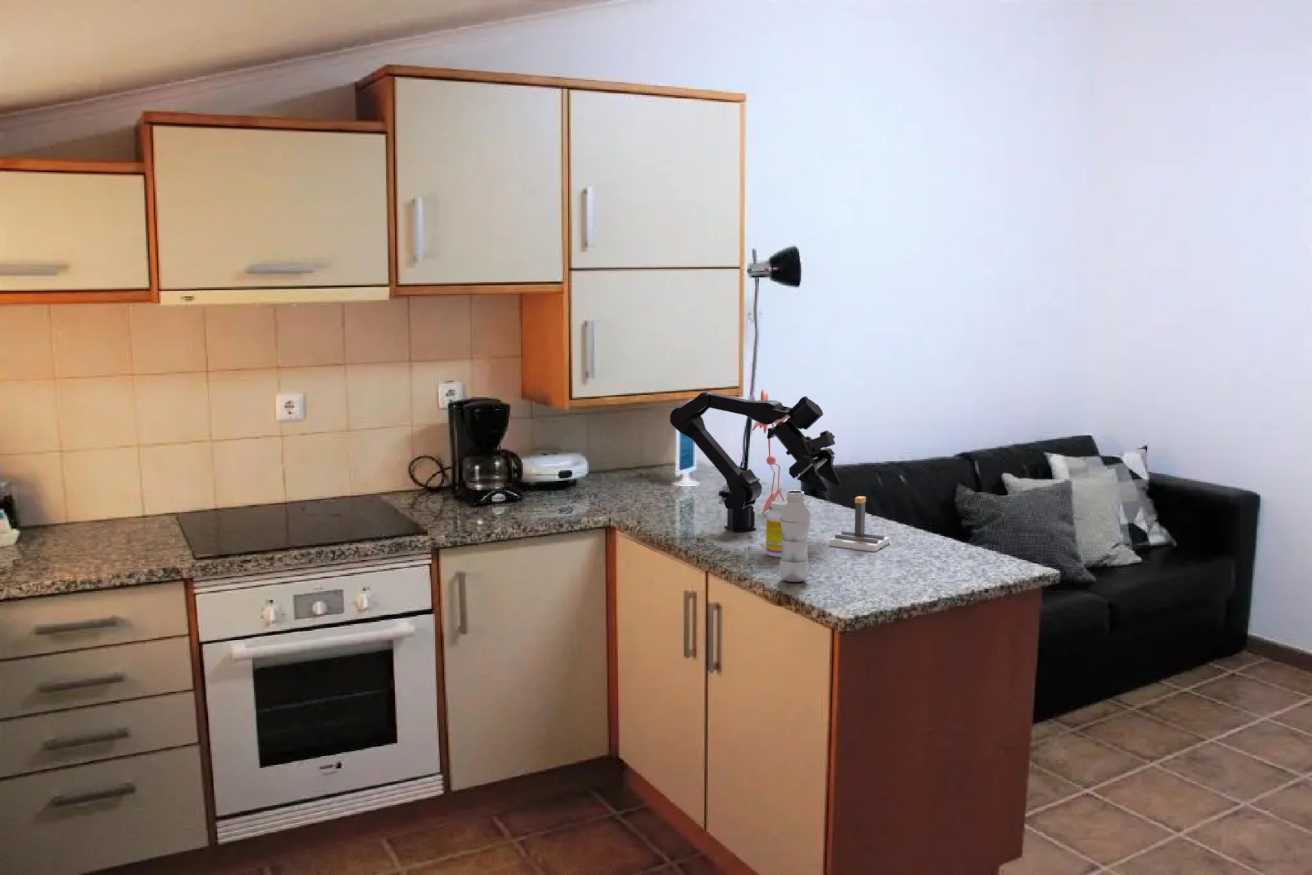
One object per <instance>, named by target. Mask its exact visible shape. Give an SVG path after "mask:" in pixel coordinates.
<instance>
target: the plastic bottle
mask: <svg viewBox="0 0 1312 875" xmlns="http://www.w3.org/2000/svg"><path fill="white" fill-rule="evenodd" d="M805 499H806V498H805V491H803V490H787V491H786V500H785V501H788V503H787V504H786V506H785V507H784V508H783V510H782V512H781V515H780V519H781V527H782V539H783V541H782V554H781V557H780V560H779V566H778V574H779V577H780V579H781V580H782V581H784V582H785V581H786V582H790V583H799V582H804V581H806V580H807V579H808V578H809V576H810V563H809V556H808V538H809V531H810V530H809V529H810V524H811V516H812V515H811V513H810V511H809V508H808V507H807V506H806V504H805V503H804V501H806V500H805Z"/></svg>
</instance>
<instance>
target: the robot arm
mask: <svg viewBox="0 0 1312 875" xmlns="http://www.w3.org/2000/svg"><path fill="white" fill-rule="evenodd" d="M709 409H714V410H719V411H723V412H728V413H734V414H737V415H743V416H746V417H747V418H749V419H751V420H753V421H755V422H756V421H757V422H760V423H762V424H765V425H767V426H768V425H772V423H773V424H775V423H776V422H779V421H780V420H782V419H783V418H786V417H789V419H786V420H785V421H783V422H782V421H781V422H779V423H778V424H777V425H776V424H775V425H774V428H773V427H769V428H768V427H767V435H766V439H767V440H768V439H770V440H771V439H773V438H777V439H778V441H779V442H780V443H781V444H782V446H784V448H785V449H786V450H787V451H786V452H785V454H786V455H787V456H790V455H791V457H792V458H793V459H794V460H795V462H794V463H793V464H792V465H791V466H790V467H788V474H789V475H790V476H791V477H792V479H794V480H795V479H796V480H797V481H801V482H803V483H805V484H807V485H808V486H811V487H813V488H815V489H817V490H819V491H822V492H823V493H827V492H828V491H829V488H828V486H827V485H826V483H825V481H824V480H823V479H825V480H827V481H828V482H829V483H831V484H833V485H834V486H835V487H840V486H841V481H840V479H839V477H838V475H837V472H836V470H835V467H834V460H835V458H836V457H835V455H836V453H835V451H833V449H832V448H829V447H831V446H834V445H836V443H835V435H834V434H833V433H832V432H830V431H829V430H824V431H821V432H819V436H818V437H815V438H812V437H811V436H806V435H804V433H803V432H802V431H801V430H802V429H803V430H808V429H809V428H810V427H812V426H813V425H814V424H815V423H816V422H817V421H818V420H819V419H820V418H821V417H823V415H824V412H823V410H822V409H821V407H820V406H819V405H818V403H816V402H814V401H813V400H811V399H809V397H807V395H805V396H802V397H801V398H800V399H799V400H798V402H797V403H796V404H794V406H792V407H789V406H785V405H783V402H781V401H779V400H770V399H768V400H761V399H760V401H758V400H751V399H745V398H740V397H735V396H730V395H725V394H720V393H718V392H717V393H716V392H713V391H712V390H711V391H703V392H701V393H699V395H697V396H696V397H695V398H693V399H692V400H689V401H688V402H687V403H685V404H683V406H678V407H676V408H674V409H673V410H672V411H671V412H670V415H669V423H670V424H671V426H672V427H673V428H674V429H676V430H677V431H678V432H679V433H680V434H682V435H684V436H685V437H687V438H689V439H691V440H692V441H693V442H694V443H695V445H696V446H697V447H698V448H699V449H700V451H701V452H702V453H703V454H704V455H705V457H706V458H707V459H708V461H710V463H712V465H713V466H714V467H715V468H716V469H717V470H718V472H719V474H721V476H723V478H724V479H725V481H726V485H727V488H728V491H729V493H730V494H729V495H728V496H727V497H726V498H725V499H723V503H724V505H725V509H726V511H727V512H726V518H727V519H726V523H727V524H726V525H724V527H723V528H724V529H726V530H729V531H731V530H732V531H731V532H734V533H742V532H751V531H752V532H753V531H756V530H757V527H755V526H756V525H755V524H756V522H755V518H756V517H755V516H756V512H755V511H754V506H753V505H755V504H756V501H757V499H758V498H760V496H762V495H761V494H762V491H763V490H762V488H763V486H762V484H761V482H760V481H761V479H760V478H759V477H757V476H756V475H755V473H754V471H753V470H752V469H751V468H749V469H746V470H744V469H742V468H740V467H739V466H738V465H737V464H736V462H735V461H734V460H733V459H732V458H731V457H730V455H729V454H728V453H727V452H726V450H725V449H724V448H723V447H722V446H721V445H720V444H719V443H718V442H717V441H716V439H715V438H714V437H713V436H712V435H711V433H710V432H709V430H707V428H706V425H705V422H704V419H703V417H702V416H703V415H704V414H705V413H707V411H708V410H709ZM822 478H823V479H822Z"/></svg>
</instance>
